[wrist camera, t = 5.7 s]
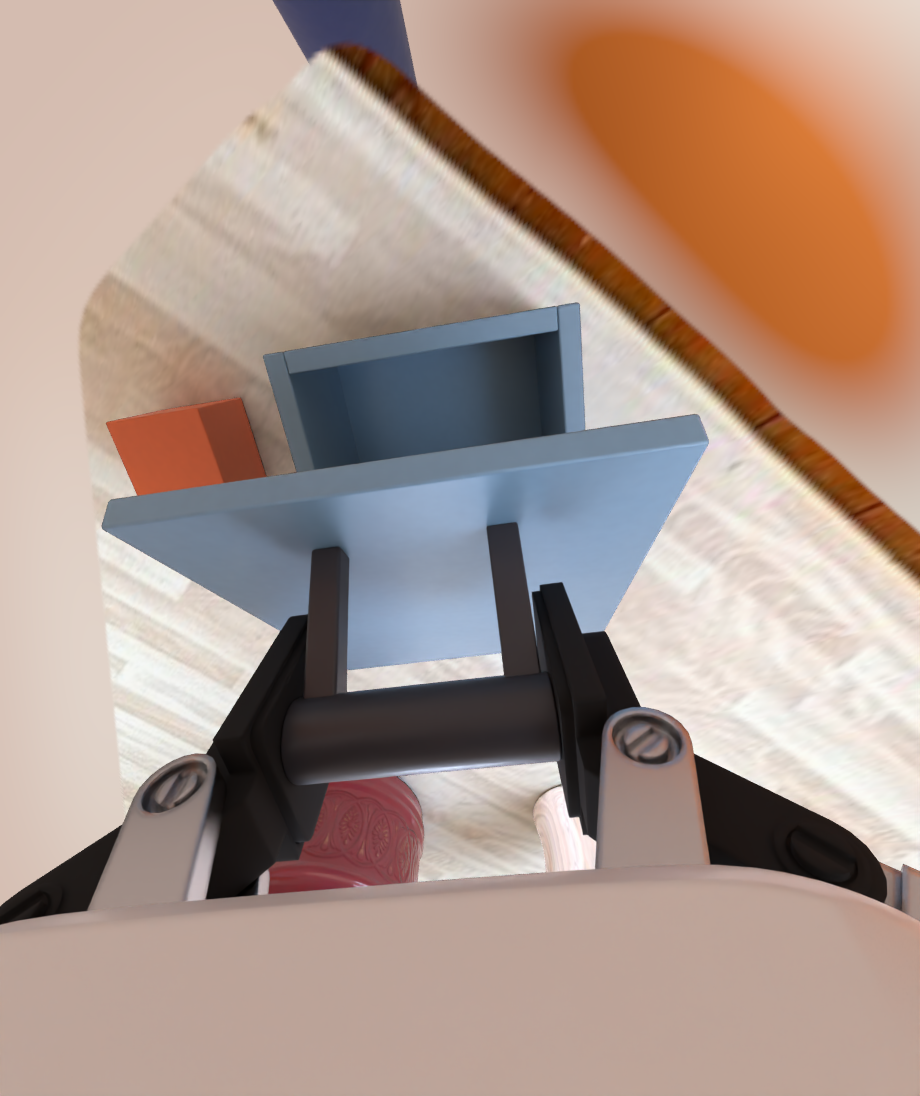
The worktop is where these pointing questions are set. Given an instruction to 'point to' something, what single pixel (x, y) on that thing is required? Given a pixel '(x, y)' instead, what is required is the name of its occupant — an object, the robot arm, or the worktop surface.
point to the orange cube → (187, 447)
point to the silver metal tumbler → (562, 835)
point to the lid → (426, 581)
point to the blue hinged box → (432, 388)
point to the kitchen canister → (358, 839)
